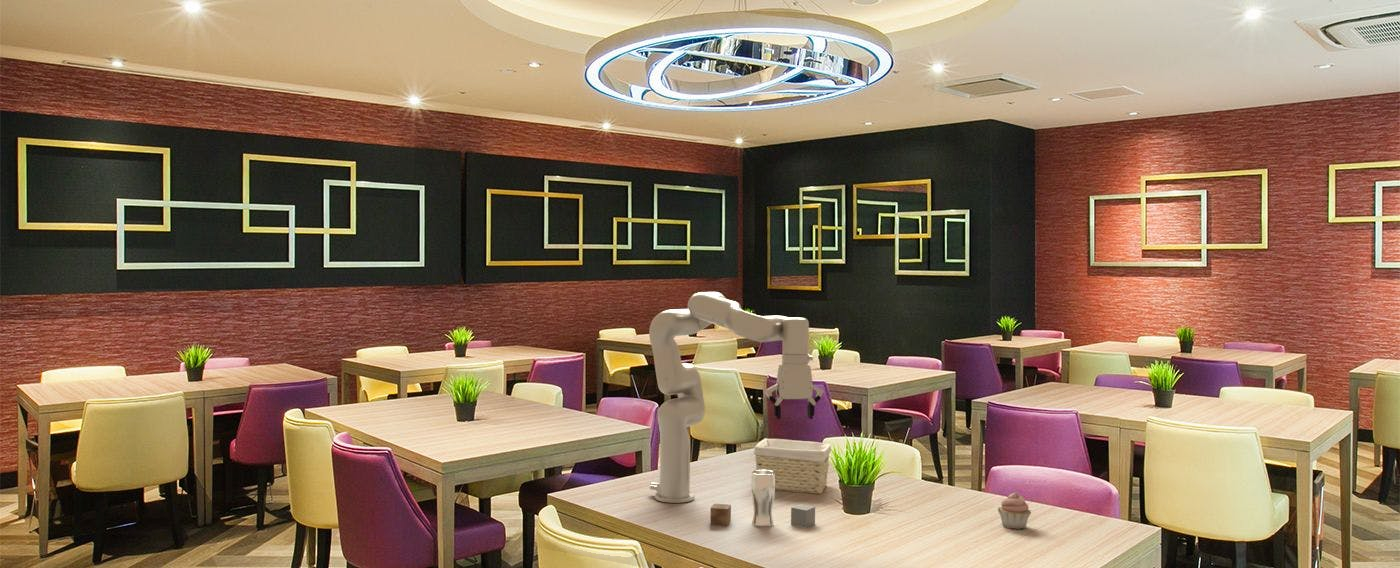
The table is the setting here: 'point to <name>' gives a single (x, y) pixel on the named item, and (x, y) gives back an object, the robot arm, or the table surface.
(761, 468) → the storage basket
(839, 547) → the table surface
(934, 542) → the table surface
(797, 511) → the slate-grey block
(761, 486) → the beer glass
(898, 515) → the table surface
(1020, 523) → the cupcake
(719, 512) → the walnut block
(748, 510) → the table surface
